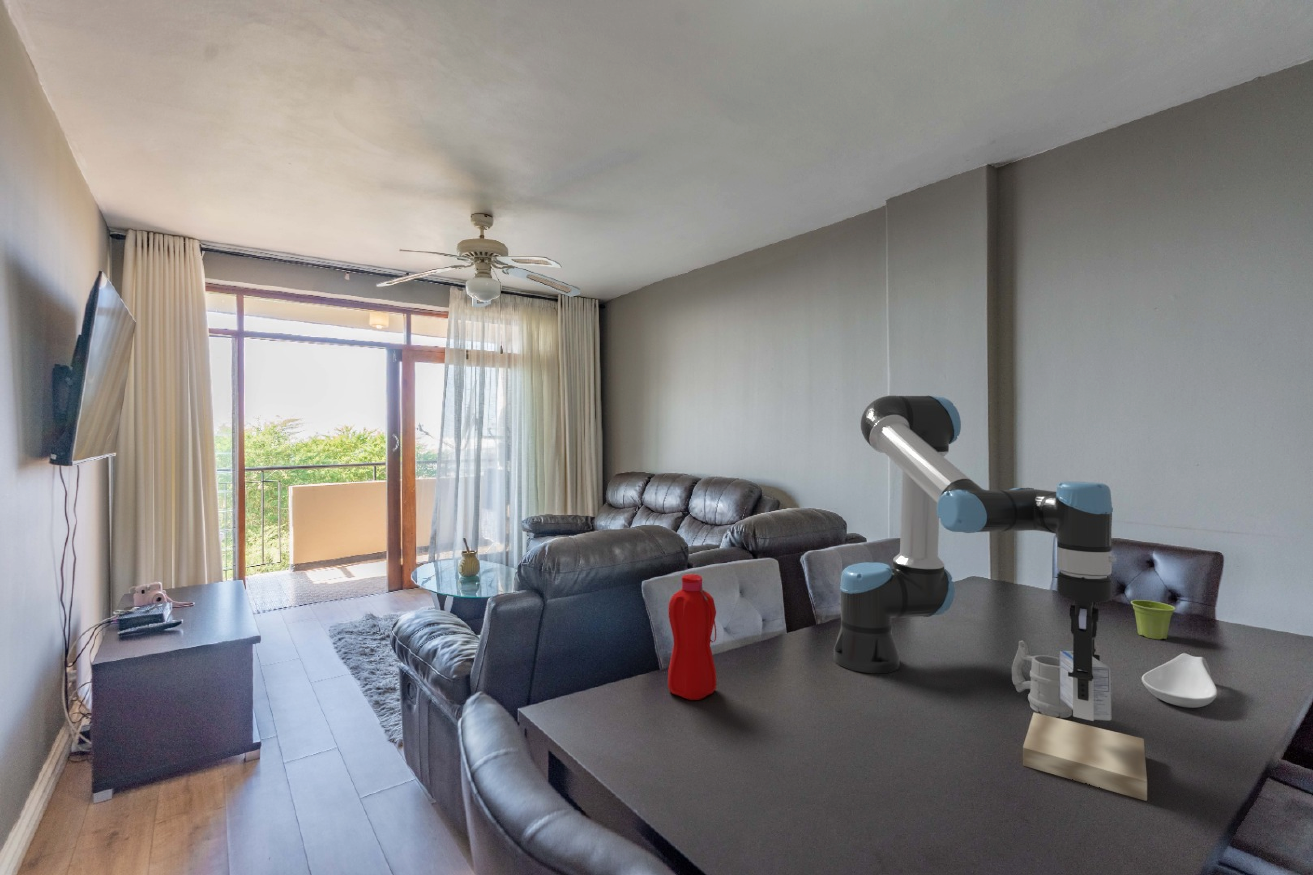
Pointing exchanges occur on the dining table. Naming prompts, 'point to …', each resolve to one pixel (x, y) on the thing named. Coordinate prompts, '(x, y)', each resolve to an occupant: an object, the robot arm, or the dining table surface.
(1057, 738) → the birch stand
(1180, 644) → the dining table surface
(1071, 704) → the medicine box
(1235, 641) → the dining table surface
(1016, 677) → the mug
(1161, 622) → the plant pot
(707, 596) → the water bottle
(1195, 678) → the spoon rest
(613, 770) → the dining table surface
